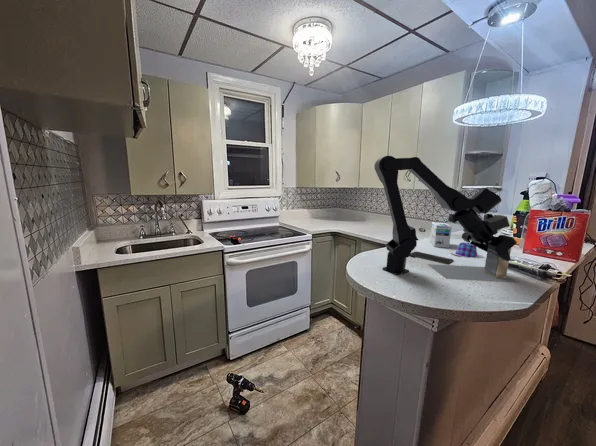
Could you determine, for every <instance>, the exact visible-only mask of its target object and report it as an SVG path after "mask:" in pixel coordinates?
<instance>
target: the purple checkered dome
mask: <svg viewBox="0 0 596 446" xmlns="http://www.w3.org/2000/svg"><path fill="white" fill-rule="evenodd" d="M450 254H452V255H455V256H457V257H462V258H469V259H471V258H472V259H482V258H483V257H484V256H483V254H481V253H478V251H477V247H476V246H474V245H472V244H470V243H468V242H460V243H459V244H458V246H457V248H456V249H452V250H450Z"/></svg>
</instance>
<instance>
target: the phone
mask: <svg viewBox="0 0 596 446" xmlns="http://www.w3.org/2000/svg"><path fill="white" fill-rule="evenodd" d="M409 257H410V258H414V259H416V258H419V259H422V260H427V261H430V262H434V263H435V262H436V263H439V264H442V265H451V263H453V262H454V259H452V258H447V257H443V256H439V255H435V254H430V253H426V252H420V251H413V252H411V253H410V255H409ZM409 257H408V258H409Z"/></svg>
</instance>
